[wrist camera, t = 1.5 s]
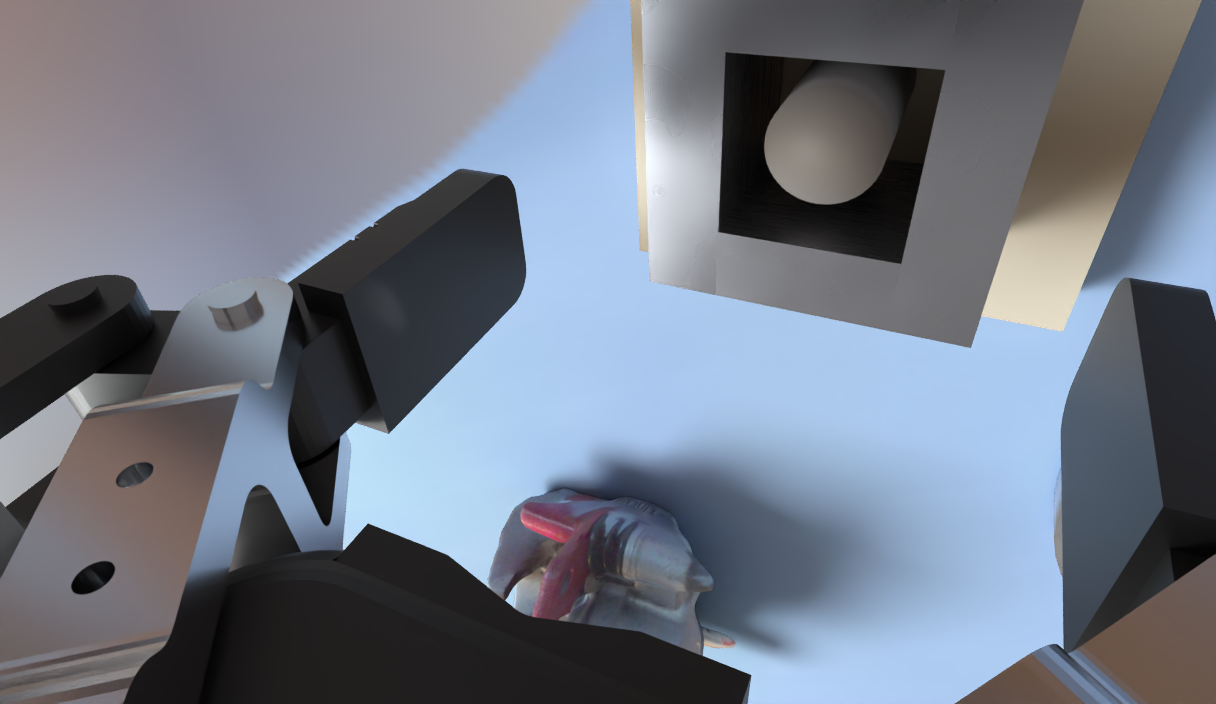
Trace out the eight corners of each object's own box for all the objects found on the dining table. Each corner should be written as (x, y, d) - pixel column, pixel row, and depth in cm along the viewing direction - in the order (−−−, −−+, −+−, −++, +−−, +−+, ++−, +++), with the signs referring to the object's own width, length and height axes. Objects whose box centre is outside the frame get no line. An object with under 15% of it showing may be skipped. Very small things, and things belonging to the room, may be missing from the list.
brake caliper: (434, 453, 29) (447, 772, 20) (702, 399, 30) (831, 675, 21) (484, 611, 36) (511, 899, 27) (699, 562, 37) (794, 820, 28)
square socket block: (723, -97, 14) (639, -52, 11) (1087, -96, 12) (1096, -39, 9) (713, 193, 18) (649, 281, 15) (986, 235, 15) (970, 347, 13)
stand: (653, -230, 14) (524, -214, 11) (1291, -273, 11) (1402, -269, 7) (660, 223, 21) (581, 324, 17) (1062, 294, 17) (1063, 440, 14)
